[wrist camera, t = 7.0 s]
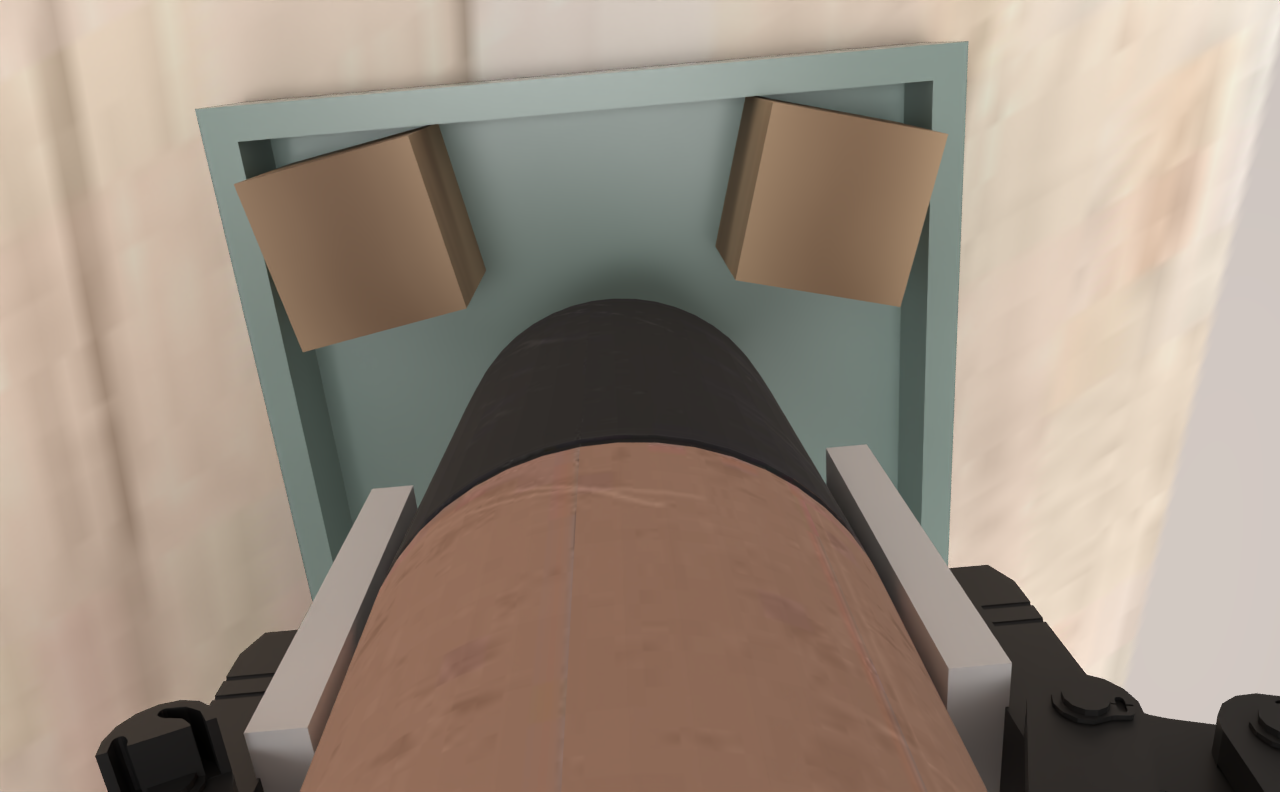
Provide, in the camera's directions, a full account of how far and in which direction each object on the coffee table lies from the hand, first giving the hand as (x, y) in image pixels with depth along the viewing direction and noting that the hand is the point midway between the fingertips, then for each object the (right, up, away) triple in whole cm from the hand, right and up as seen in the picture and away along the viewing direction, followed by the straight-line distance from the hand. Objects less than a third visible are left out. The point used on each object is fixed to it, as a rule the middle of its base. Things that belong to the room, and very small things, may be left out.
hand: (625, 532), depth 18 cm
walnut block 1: (-6, +7, +7) cm, 12 cm away
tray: (-1, +4, +10) cm, 10 cm away
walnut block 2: (+5, +8, +7) cm, 12 cm away
